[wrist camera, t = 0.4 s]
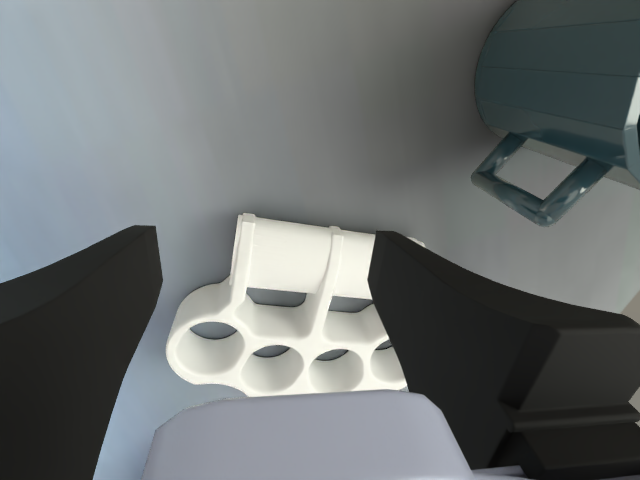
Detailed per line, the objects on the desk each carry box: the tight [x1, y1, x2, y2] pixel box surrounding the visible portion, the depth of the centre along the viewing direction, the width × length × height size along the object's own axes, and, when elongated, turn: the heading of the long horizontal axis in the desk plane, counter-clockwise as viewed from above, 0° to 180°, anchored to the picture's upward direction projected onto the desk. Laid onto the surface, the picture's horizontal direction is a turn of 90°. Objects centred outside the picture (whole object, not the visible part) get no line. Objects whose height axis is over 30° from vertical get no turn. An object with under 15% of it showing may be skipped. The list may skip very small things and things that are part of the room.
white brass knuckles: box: [166, 213, 425, 397], centre depth 24 cm, size 3×18×15 cm
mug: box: [471, 0, 640, 227], centre depth 16 cm, size 11×8×10 cm
